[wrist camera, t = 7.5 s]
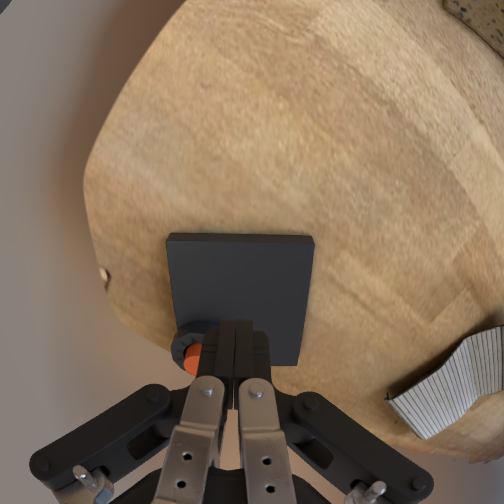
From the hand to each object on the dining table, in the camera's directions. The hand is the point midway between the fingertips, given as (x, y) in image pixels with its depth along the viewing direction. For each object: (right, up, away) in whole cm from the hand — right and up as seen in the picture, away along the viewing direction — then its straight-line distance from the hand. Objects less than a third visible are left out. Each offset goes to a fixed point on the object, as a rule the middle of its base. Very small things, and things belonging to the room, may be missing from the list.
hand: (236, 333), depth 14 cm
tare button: (-4, -6, +13) cm, 15 cm away
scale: (0, -1, +14) cm, 14 cm away
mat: (+34, -16, +22) cm, 44 cm away
